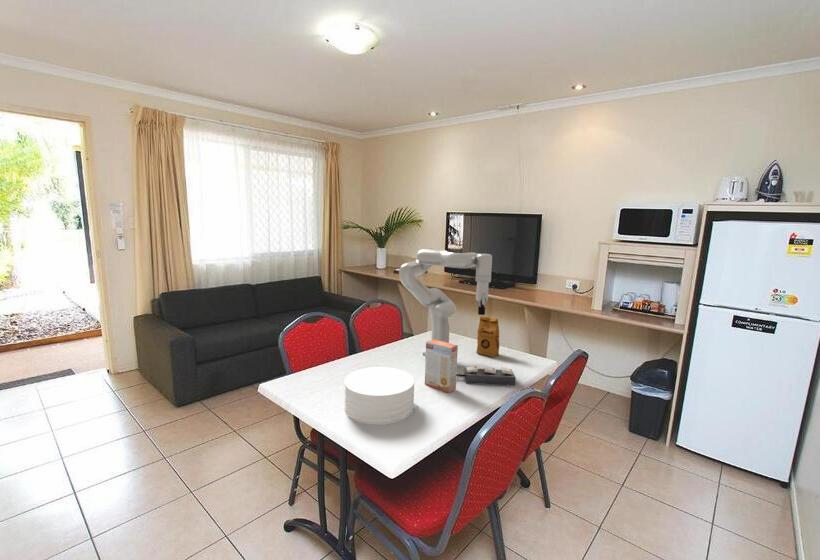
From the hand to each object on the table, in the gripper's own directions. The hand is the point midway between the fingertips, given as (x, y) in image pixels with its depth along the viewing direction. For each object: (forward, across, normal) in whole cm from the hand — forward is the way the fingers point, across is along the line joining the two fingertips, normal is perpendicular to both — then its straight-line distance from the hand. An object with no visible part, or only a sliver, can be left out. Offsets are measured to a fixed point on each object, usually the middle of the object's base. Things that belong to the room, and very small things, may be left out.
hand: (481, 314), depth 195 cm
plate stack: (+30, +46, -45) cm, 71 cm away
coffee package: (+29, -24, +8) cm, 39 cm away
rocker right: (+25, +14, +12) cm, 31 cm away
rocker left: (+25, +14, -4) cm, 29 cm away
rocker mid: (+25, +14, +4) cm, 29 cm away
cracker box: (+29, +24, -20) cm, 43 cm away
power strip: (+29, +14, 0) cm, 32 cm away
